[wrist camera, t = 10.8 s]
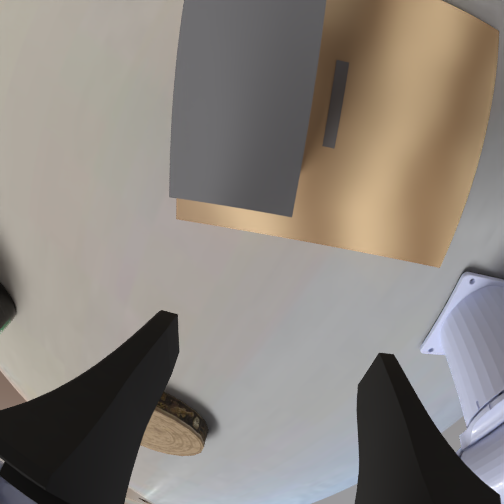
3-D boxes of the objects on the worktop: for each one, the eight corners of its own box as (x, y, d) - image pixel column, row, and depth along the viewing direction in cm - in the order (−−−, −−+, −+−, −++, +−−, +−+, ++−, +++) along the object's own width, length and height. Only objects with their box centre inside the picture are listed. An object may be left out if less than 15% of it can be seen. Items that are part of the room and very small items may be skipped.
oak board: (485, 33, 9) (499, 31, 8) (432, 255, 17) (439, 268, 16) (208, -33, 10) (199, -42, 9) (185, 208, 18) (176, 219, 17)
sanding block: (320, 22, 11) (327, -10, 6) (296, 177, 15) (292, 217, 10) (224, 12, 11) (187, -17, 7) (208, 163, 15) (169, 197, 11)
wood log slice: (151, 438, 40) (145, 452, 38) (78, 378, 34) (69, 394, 32) (232, 438, 35) (227, 456, 32) (152, 368, 28) (141, 390, 26)
